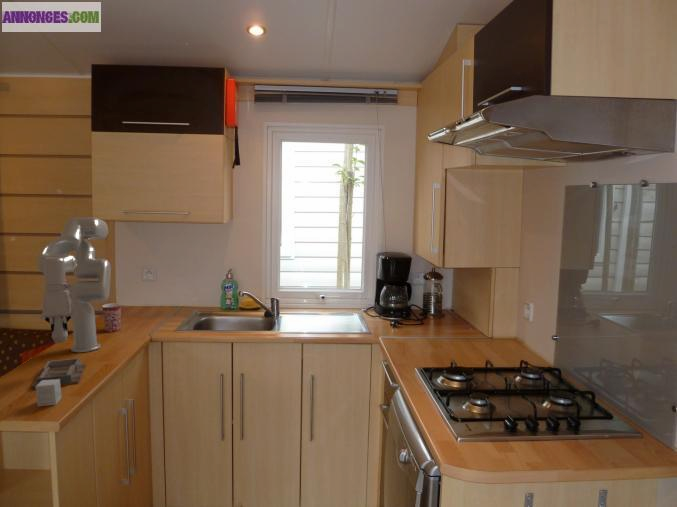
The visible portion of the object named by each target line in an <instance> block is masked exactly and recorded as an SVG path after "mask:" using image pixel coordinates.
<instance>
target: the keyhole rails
mask: <svg viewBox="0 0 677 507" xmlns="http://www.w3.org/2000/svg"><path fill="white" fill-rule="evenodd" d="M81 363H82V362H81V357H74V358H65V359H56V360H48V361H47V362H46V364H45V365H44V366H43V368H44V371H43V372H42V374H41V376H40V377H39V383H40V382H41V381H42V380H55V379H60V383H62V382H71V380H72V378H73V376H74V374H75V371H77V370H78V368H79V366H80V364H81ZM69 365H71V366H70V368H69V370H68V372H67V374H66V375H60V376H51V377H49V375H50V368H51V367H60V366H69Z"/></svg>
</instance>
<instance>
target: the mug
mask: <svg viewBox="0 0 677 507" xmlns="http://www.w3.org/2000/svg"><path fill="white" fill-rule="evenodd" d="M121 306H122V303H119V302H118V303H116V302H115V303H113V302H112V303H106V304H103V305H102V306H101V307H102V313H103V314H102V315H103V320H104V328H105V332H107V333H116V332H119V331H121V327H122V326H121V323H122V322H121V319H122V318H121V317H122V316H121V313H122V312H121V311H122V310H121Z"/></svg>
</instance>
